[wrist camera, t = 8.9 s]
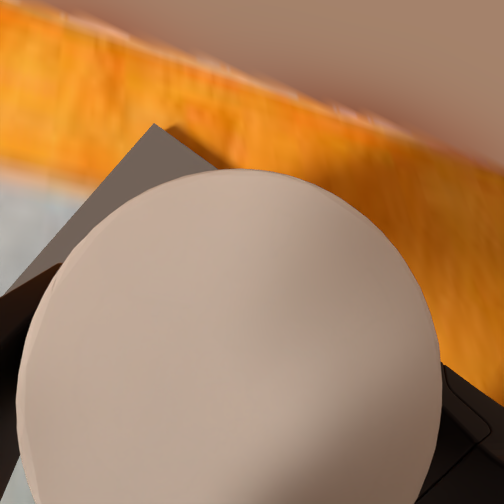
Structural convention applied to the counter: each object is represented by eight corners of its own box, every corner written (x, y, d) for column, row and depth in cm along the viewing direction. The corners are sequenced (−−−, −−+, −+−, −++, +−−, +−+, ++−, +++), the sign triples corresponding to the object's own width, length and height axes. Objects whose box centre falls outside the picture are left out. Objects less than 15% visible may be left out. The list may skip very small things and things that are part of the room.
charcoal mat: (364, 285, 20) (376, 283, 19) (227, 543, 16) (231, 561, 15) (155, 134, 19) (153, 123, 18) (-54, 375, 15) (-72, 380, 14)
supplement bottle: (206, 233, 17) (312, 10, 5) (284, 341, 17) (599, 405, 5) (81, 315, 15) (-311, 300, 3) (169, 439, 15) (184, 1018, 3)
